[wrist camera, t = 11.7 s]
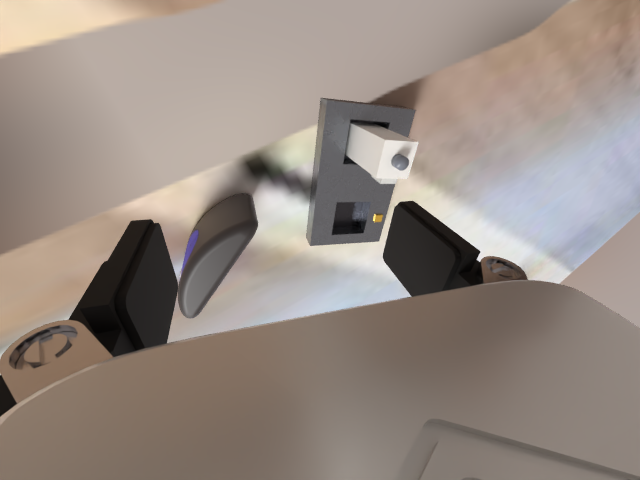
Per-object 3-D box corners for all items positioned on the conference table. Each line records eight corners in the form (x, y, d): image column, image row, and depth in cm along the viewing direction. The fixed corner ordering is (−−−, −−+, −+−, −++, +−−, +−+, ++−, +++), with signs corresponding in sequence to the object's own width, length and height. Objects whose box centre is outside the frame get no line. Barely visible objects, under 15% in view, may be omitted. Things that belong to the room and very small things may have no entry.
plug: (348, 122, 34) (391, 142, 25) (375, 124, 36) (425, 144, 27) (342, 158, 37) (379, 189, 28) (368, 159, 38) (411, 189, 29)
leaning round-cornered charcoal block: (223, 177, 34) (223, 209, 26) (255, 194, 36) (262, 228, 29) (169, 267, 39) (155, 316, 31) (200, 277, 41) (194, 325, 34)
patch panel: (320, 97, 32) (327, 100, 30) (405, 107, 36) (416, 110, 33) (306, 237, 43) (310, 246, 40) (372, 233, 46) (379, 242, 44)
